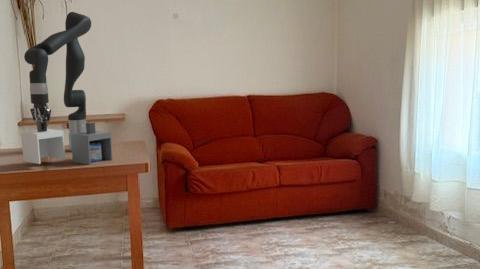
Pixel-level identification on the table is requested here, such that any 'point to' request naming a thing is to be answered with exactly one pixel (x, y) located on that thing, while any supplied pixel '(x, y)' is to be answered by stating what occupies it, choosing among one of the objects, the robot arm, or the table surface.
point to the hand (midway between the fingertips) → (42, 130)
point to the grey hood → (42, 144)
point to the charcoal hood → (83, 147)
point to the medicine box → (95, 152)
